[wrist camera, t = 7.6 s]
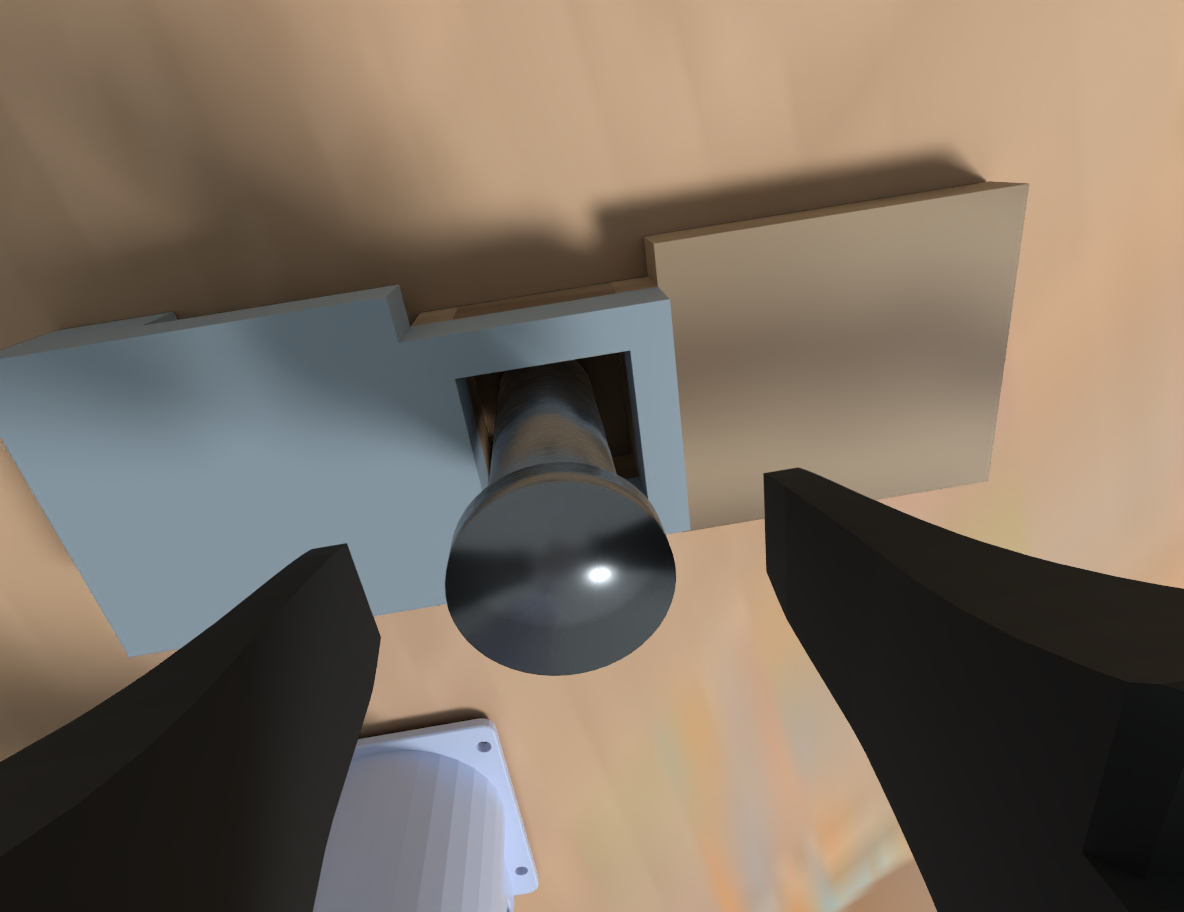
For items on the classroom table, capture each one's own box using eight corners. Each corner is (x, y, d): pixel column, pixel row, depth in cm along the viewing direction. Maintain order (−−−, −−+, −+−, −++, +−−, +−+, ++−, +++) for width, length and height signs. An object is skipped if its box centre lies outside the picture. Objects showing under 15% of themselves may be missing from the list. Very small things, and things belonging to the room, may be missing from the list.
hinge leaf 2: (957, 458, 20) (988, 480, 19) (478, 539, 20) (474, 567, 18) (988, 181, 17) (1029, 183, 15) (410, 273, 16) (399, 284, 15)
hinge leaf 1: (671, 506, 20) (693, 562, 17) (184, 588, 20) (129, 657, 17) (643, 236, 16) (666, 252, 14) (54, 330, 16) (-43, 365, 13)
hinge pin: (618, 441, 19) (686, 653, 11) (496, 463, 19) (475, 693, 11) (599, 320, 17) (663, 465, 9) (466, 344, 17) (416, 511, 9)
